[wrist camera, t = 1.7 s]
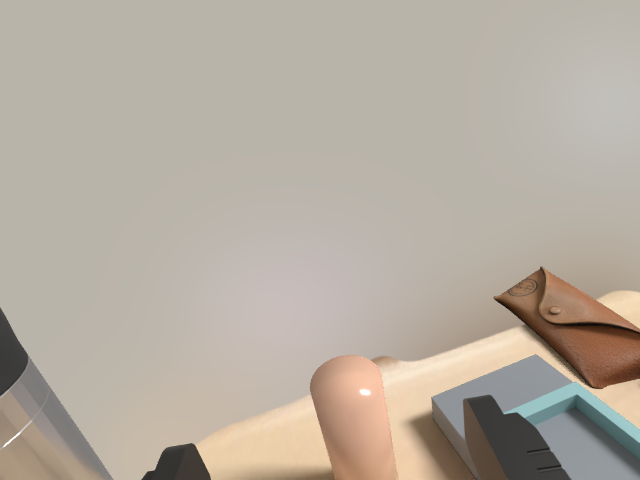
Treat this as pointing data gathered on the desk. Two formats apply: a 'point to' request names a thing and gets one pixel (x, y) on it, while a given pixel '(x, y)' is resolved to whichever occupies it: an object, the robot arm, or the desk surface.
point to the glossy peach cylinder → (354, 419)
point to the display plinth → (550, 420)
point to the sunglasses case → (577, 328)
